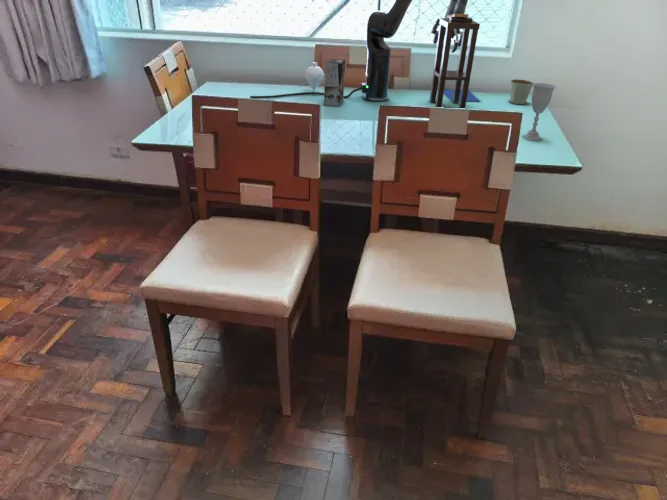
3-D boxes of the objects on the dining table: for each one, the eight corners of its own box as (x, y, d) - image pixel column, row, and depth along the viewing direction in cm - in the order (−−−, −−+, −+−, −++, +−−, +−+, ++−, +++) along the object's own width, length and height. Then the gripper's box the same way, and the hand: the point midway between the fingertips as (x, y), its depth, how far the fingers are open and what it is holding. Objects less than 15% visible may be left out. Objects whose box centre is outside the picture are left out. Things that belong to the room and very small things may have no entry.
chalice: (538, 135, 197) (551, 83, 188) (545, 141, 191) (559, 88, 182) (518, 134, 196) (529, 82, 187) (525, 140, 191) (537, 87, 182)
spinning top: (302, 93, 231) (303, 63, 225) (307, 89, 238) (308, 59, 232) (320, 95, 230) (321, 65, 224) (325, 90, 237) (326, 61, 231)
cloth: (451, 101, 232) (451, 100, 232) (441, 90, 247) (441, 89, 247) (479, 101, 233) (479, 101, 233) (467, 90, 248) (467, 90, 248)
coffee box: (339, 106, 217) (341, 63, 208) (323, 105, 217) (324, 62, 209) (343, 100, 224) (346, 59, 216) (328, 99, 225) (329, 57, 217)
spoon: (441, 18, 223) (443, 5, 220) (455, 19, 223) (457, 5, 221) (453, 28, 208) (455, 13, 205) (468, 28, 208) (470, 14, 205)
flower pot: (529, 101, 237) (533, 80, 233) (529, 106, 230) (534, 85, 225) (506, 98, 239) (510, 78, 235) (506, 104, 232) (510, 83, 227)
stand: (435, 109, 220) (448, 19, 203) (428, 101, 230) (440, 14, 213) (465, 110, 221) (480, 20, 204) (457, 101, 231) (470, 15, 215)
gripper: (465, 26, 243) (454, 58, 239) (436, 12, 240) (425, 44, 237) (473, 17, 235) (462, 50, 232) (443, 3, 233) (432, 35, 230)
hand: (443, 47), depth 234 cm, fingers open, 8 cm apart
